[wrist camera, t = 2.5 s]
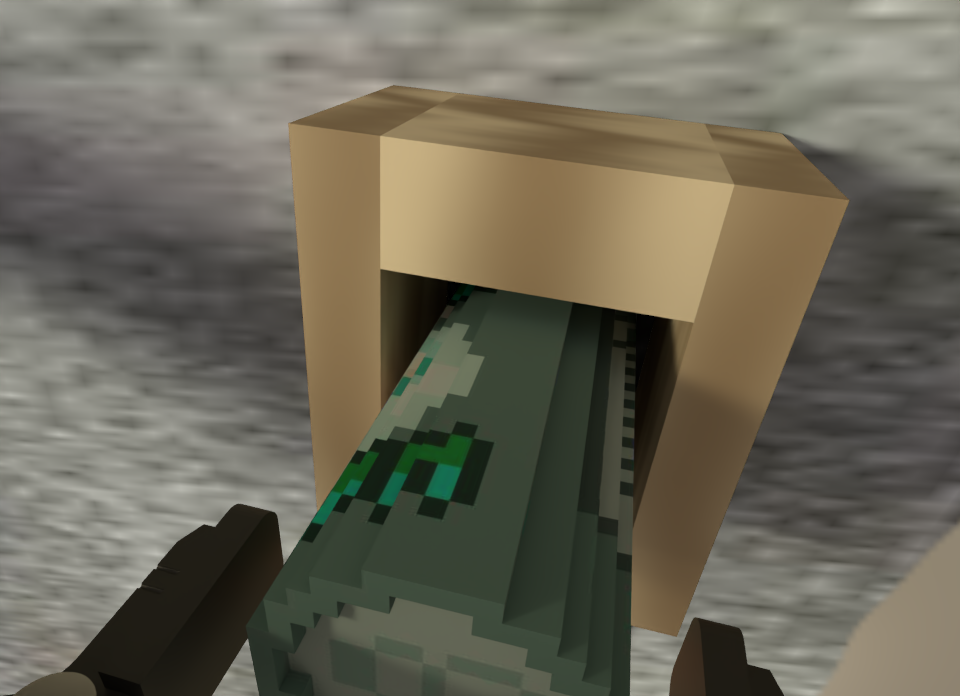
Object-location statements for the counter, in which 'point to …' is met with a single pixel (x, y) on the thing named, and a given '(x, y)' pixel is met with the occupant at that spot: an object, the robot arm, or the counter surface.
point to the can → (474, 520)
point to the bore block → (565, 276)
